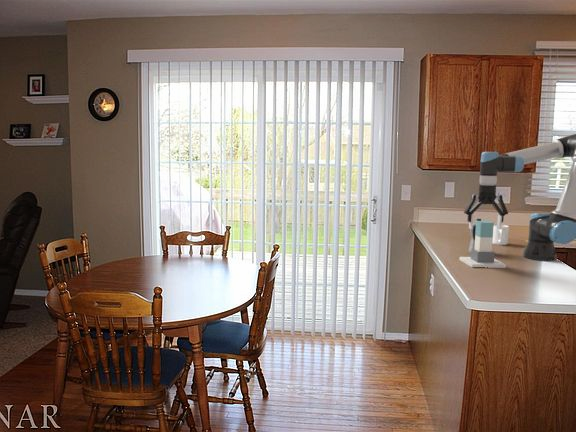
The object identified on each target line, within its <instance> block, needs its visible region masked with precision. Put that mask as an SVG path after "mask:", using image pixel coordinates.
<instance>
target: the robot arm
mask: <svg viewBox="0 0 576 432" xmlns="http://www.w3.org/2000/svg"><path fill="white" fill-rule="evenodd" d="M553 158H554V159H555V158H556V159H563V158H570V160H571V161H572V164H571V167H570V168H569V169H570V170H569V172H568V176H567V178H566V181H565V182H564V183H565V184H564V186H563V189H562V191H561V193H560V194H561V195H560V197H559V200H558V203H557V205H556V208H555V209H554V210H552V211H550V213H531V215H530V218H529V227H528V230H529V231H528V239H527V240H528V241H527V243H526V246H525V248H524V250H523V255H522V256H523V257H524V258H526V259H529V260H535V261H549V260H552V261H556V260H557V252H556V248H555V244H561V245H568V244H570V243H571V242H573V241H574V240H575V239H576V133H574V134H570V135H567V136H564V137H560V138H556V139H554V140H552V142H549V143H545V144H541V145H536V146H532V147H528V148H524V149H523V148H522V149H519V150H514V151H510V152H506V153H502V154H499V152H498V151H483V152H481V156H480V169H479V171H480V172H479V181H478V182H479V186H478V194H474V193H473V194H471V198H470V200H469V202H468V204H467V206H466V207H465V209H464V211H463V213H464V215H467V222H468V229H470V230H471V229H473V224H474V213H475V212H476V211H477V210H478V209H479V208H480V207H481V206H482V205H491V206H493V208H494V210H495V211H496V213H498V215H497V223H496V225H497V229H501V225H502V223H503V222H504V217H505V216H506V215H508V214H509V212H508V208H507V207H506V205H505V202H504V200H503V195H502V194H497V195H496V193H497V183H498V181H497V180H498V179H497V178H498V173H520V172H522V171H523V170H524V168H525V165H527V164H532V163H537V162H540V161H545V160H550V159H553ZM477 199H478V200H477ZM496 199H497V201H498V203H499V205H498V203H497V202H496V201H495V200H496ZM476 200H477V201H476ZM475 202H476V203H475ZM474 203H475V204H474Z"/></svg>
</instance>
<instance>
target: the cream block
mask: <svg viewBox="0 0 576 432" xmlns="http://www.w3.org/2000/svg"><path fill="white" fill-rule="evenodd" d="M474 249H475V250H477V251H479V252H492V251H493V237H479V236H476V235H475V248H474Z"/></svg>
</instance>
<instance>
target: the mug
mask: <svg viewBox="0 0 576 432" xmlns="http://www.w3.org/2000/svg"><path fill="white" fill-rule="evenodd" d="M509 228H510V226H509V225H505V224H501V229H497V224H494V228H493V243H492V245H497V246H506V245H508V240H509V230H510V229H509Z"/></svg>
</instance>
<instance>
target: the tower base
mask: <svg viewBox="0 0 576 432" xmlns="http://www.w3.org/2000/svg"><path fill="white" fill-rule="evenodd" d="M495 254H496V252H494V251H493V250H492V252H479V251H477V250H475V249H471V252H470V256H459V261H460V262H462V263H464V264H466V265H467V266H468V267H470V268H472V267H485V268H484V269H486V268H487V267H488V268H489V269H490V268H491V269H493V268H494V269H495V268H497V269H506V268H507V264H505V263H504V262H502V261H500V260H497V259H496V258H495ZM488 268H487V269H488Z"/></svg>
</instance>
